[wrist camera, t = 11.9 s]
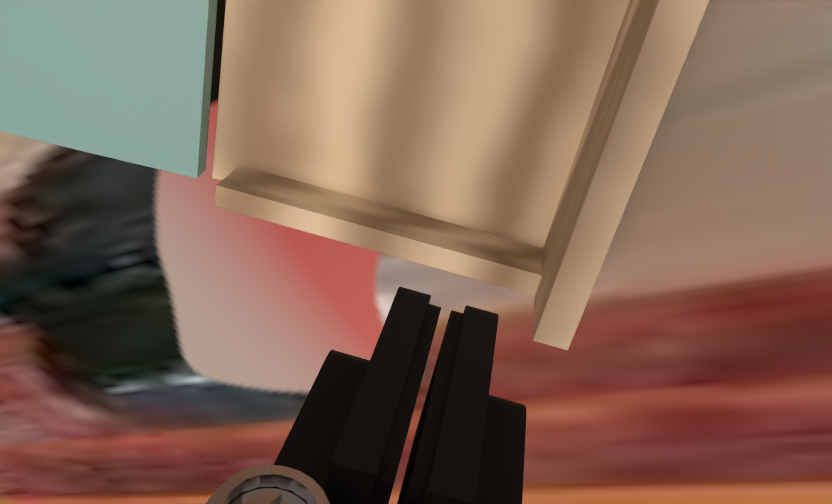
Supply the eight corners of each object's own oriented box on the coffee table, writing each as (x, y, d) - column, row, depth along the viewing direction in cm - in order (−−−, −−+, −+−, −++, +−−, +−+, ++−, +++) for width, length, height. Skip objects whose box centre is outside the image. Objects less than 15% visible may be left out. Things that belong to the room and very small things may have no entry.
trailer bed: (708, -141, 30) (772, -157, 21) (564, 250, 40) (567, 350, 31) (272, -247, 31) (162, -304, 22) (234, 159, 41) (147, 231, 32)
